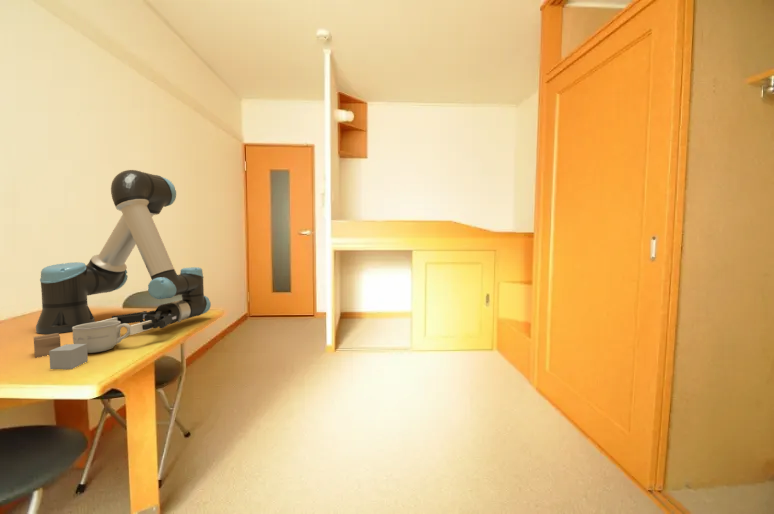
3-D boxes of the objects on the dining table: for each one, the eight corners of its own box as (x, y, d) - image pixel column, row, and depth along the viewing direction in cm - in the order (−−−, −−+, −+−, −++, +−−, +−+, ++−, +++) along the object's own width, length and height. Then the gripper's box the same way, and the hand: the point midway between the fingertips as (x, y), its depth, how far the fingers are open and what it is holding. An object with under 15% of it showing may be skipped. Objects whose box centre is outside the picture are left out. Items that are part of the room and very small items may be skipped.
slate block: (50, 370, 82) (49, 350, 82) (67, 362, 87) (66, 344, 87) (72, 369, 83) (71, 350, 82) (87, 361, 88) (86, 343, 87)
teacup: (62, 356, 91) (60, 328, 90) (95, 343, 102) (94, 318, 101) (113, 356, 91) (112, 328, 91) (141, 343, 102) (140, 318, 102)
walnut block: (34, 353, 93) (33, 336, 93) (59, 349, 97) (58, 332, 96) (35, 358, 90) (34, 340, 89) (60, 353, 94) (60, 336, 93)
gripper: (201, 325, 117) (146, 344, 96) (145, 320, 122) (81, 337, 101) (201, 304, 116) (145, 319, 96) (144, 300, 121) (80, 313, 101)
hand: (112, 328), depth 98 cm, fingers open, 13 cm apart
